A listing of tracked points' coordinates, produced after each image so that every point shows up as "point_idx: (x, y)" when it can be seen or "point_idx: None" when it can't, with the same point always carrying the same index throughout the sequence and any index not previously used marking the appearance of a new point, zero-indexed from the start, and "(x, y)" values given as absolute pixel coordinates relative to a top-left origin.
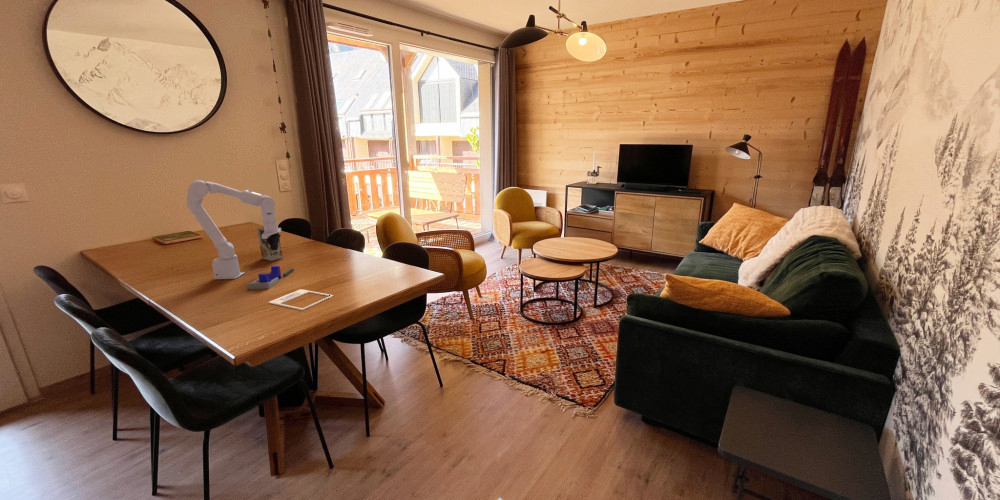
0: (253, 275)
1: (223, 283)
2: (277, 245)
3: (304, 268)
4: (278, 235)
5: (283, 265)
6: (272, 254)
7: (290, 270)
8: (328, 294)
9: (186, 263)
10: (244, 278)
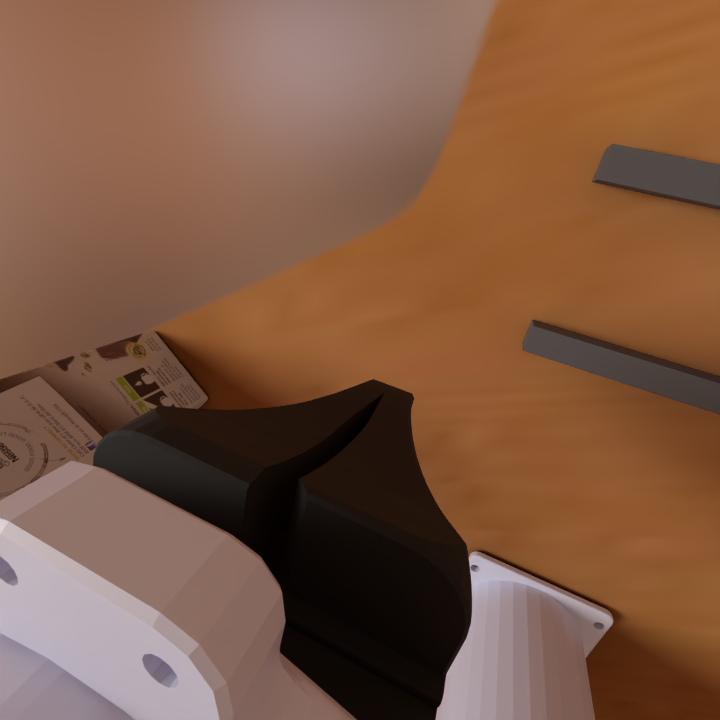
0: (568, 501)
1: (697, 677)
2: (362, 399)
3: (554, 23)
4: (257, 484)
5: (346, 296)
6: (163, 405)
7: (701, 162)
8: None
9: None
10: (630, 559)
